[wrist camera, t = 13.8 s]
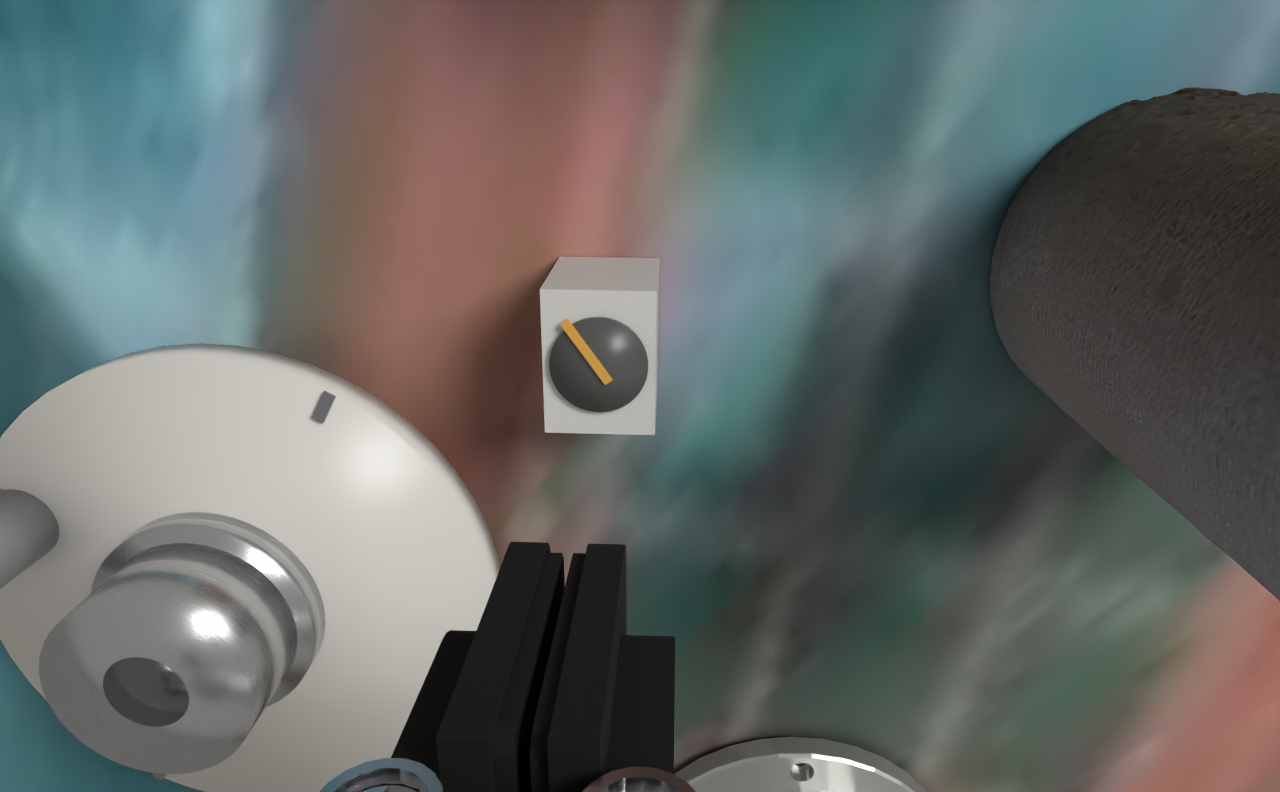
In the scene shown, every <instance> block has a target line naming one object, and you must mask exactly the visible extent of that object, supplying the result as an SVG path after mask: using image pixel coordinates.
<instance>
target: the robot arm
mask: <svg viewBox="0 0 1280 792" xmlns="http://www.w3.org/2000/svg"><path fill="white" fill-rule="evenodd" d="M674 678H675V637H668V636H633V635H626V546H625V545H618V544H588V546H587V551H586V554H581V553H574V554H573V556H572V560H571V564H570V569H569V573H568V577H567V581H566V586H565V584H564V559H563V554H562V553H550V546H549V543H536V542H510V544H509V546H508V549H507V552H506V554H505V557H504V559H503V562H502V565H501V567H500V570H499V573H498V575H497V578H496V581H495V583H494V586H493V588H492V591H491V594H490V596H489V599H488V602H487V604H486V607H485V610H484V612H483V615H482V617H481V620H480V623H479V625H478V628H477V631H460V630H450V631H448V632H446V634H445V636H444V637H443V639H442V641H441V644H440V646H439V648H438V651H437V653H436V655H435V658H434V660H433V662H432V664H431V667H430V669H429V671H428V674H427V676H426V678H425V680H424V683H423V685H422V687H421V690H420V692H419V694H418V697H417V699H416V701H415V703H414V706H413V708H412V710H411V713H410V715H409V717H408V720H407V722H406V724H405V726H404V729H403V731H402V733H401V736H400V738H399V740H398V742H397V745H396V747H395V749H394V752H393V754H392V756H391V758H383V759H378V760H373V761H368V762H364V763H362V764H360V765H357V766H355V767H352V768H350V769H348V770H345V771H344V772H342V773H341V774H340V775H338V776H337V777H335V778H334V779H332V780H331V781H329V782H328V783H327V784H326V785H325V786H324V787H323V788H322V789H321V790H320V792H927V791H926V790H925V789H924V788H923V787H922V786H921V785H920V784H919V783H918V782H917V781H916V780H915V779H914V778H913V777H912V776H911V775H910V774H908V773H907V772H906V771H904V770H903V769H901V768H899V767H898V766H896V765H895V764H893V763H892V762H890V761H888V760H887V759H885V758H884V757H881V756H879V755H876V754H874V753H871V752H869V751H866V750H864V749H862V748H859V747H857V746H853V745H849V744H844V743H840V742H836V741H831V740H827V739H818V738H804V737H781V738H768V739H758V740H754V741H749V742H745V743H741V744H736V745H732V746H728V747H726V748H723V749H721V750H718V751H716V752H713V753H711V754H708V755H706V756H703V757H701V758H699V759H697V760H696V761H694V762H692V763H691V764H689V765H688V766H686V767H684V768H683V769H681V770H679V771H678V772H676V773H675V774H673V771H674Z"/></svg>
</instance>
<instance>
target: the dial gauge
mask: <svg viewBox="0 0 1280 792" xmlns="http://www.w3.org/2000/svg"><path fill="white" fill-rule="evenodd" d="M659 272H660V258H609V257H559V259H558V260H557V262H556V264H555V265H554V267H553V268H552V270H551V272H550V273H549V275H548V277H547V278H546V280H545V281H544V283H543V285H542V286H541V288H540V310H541V338H542V366H543V394H544V421H545V433H586V434H629V435H655V422H656V404H657V386H658V332H659Z"/></svg>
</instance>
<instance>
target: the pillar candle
mask: <svg viewBox="0 0 1280 792" xmlns="http://www.w3.org/2000/svg"><path fill="white" fill-rule="evenodd" d="M990 301H991V308H992V313H993V317H994V321H995V326H996V329H997V332H998V334H999V337H1000V339H1001V342H1002V343H1003V345H1004V347H1005V349H1006V351H1007V353H1008V355H1009V356H1010V358H1011V359H1012V360H1013V362H1014V363H1015V364H1016V365H1017V367H1018V368H1019V369H1020V370H1021V371H1022V372H1023V373H1024V374H1025V375H1026V376H1027V378H1028V379H1029V380H1030V381H1031V382H1032V383H1033V384H1034V385H1036V386H1037V387H1038V388H1039V389H1040V390H1041V391H1042V392H1043V393H1044V394H1045V395H1046V396H1047V397H1048V398H1050V399H1051V400H1052V401H1053V402H1054V403H1055V404H1056V405H1057V406H1058V407H1059V408H1060V409H1062V410H1063V411H1064V412H1065V413H1066V414H1068V415H1069V416H1070V417H1071V418H1072V419H1073V420H1074V421H1076V422H1077V423H1078V424H1079V425H1080V426H1081V427H1082V428H1083V429H1085V430H1086V431H1087V432H1088V433H1089V434H1090V435H1091V436H1092V437H1093V438H1094V439H1096V440H1097V441H1098V442H1099V443H1100V444H1101V445H1102V446H1103V447H1104V448H1105V449H1106V450H1107V451H1108V452H1110V453H1111V454H1112V455H1113V456H1114V457H1116V458H1117V459H1118V460H1119V461H1120V462H1122V463H1123V464H1124V465H1125V466H1126V467H1127V468H1128V469H1129V470H1130V471H1132V472H1133V473H1134V474H1135V475H1136V476H1137V477H1138V478H1140V479H1141V480H1142V481H1143V482H1144V483H1145V484H1147V485H1148V486H1149V487H1150V488H1151V489H1152V490H1153V491H1154V492H1156V493H1157V494H1158V495H1159V496H1160V497H1161V498H1162V499H1164V500H1165V501H1166V502H1167V503H1169V504H1170V505H1171V506H1172V507H1173V508H1174V509H1176V510H1177V511H1178V512H1179V513H1180V514H1181V515H1183V516H1184V517H1185V518H1186V519H1187V520H1189V521H1190V522H1191V523H1192V524H1193V525H1194V526H1195V527H1196V528H1197V529H1198V530H1199V531H1200V532H1202V533H1203V534H1204V536H1206V537H1207V538H1208V539H1209V540H1210V541H1212V542H1213V543H1214V544H1215V545H1216V546H1218V547H1219V548H1220V549H1221V550H1222V551H1224V552H1225V553H1226V554H1227V555H1228V556H1230V557H1231V558H1232V559H1233V560H1234V561H1236V562H1237V563H1238V564H1239V565H1240V566H1241V567H1242V568H1243V569H1245V570H1246V571H1247V572H1248V573H1249V574H1250V575H1251V576H1252V577H1254V578H1255V579H1256V580H1257V581H1258V582H1259V583H1260V584H1261V585H1262V586H1264V587H1265V588H1266V589H1267V590H1268V591H1269V592H1271V593H1272V594H1273V595H1274V596H1275V597H1276V598H1277V599H1278V600H1279V601H1280V94H1275V93H1271V94H1268V93H1267V92H1264V93H1256V94H1250V95H1247V96H1244V95H1241V94H1239V93H1238V92H1236V91H1228V90H1221V89H1203V88H1197V87H1196V88H1185V89H1181V90H1179V91H1177V92H1175V93H1173V94H1170V95H1165V96H1159V97H1153V98H1152V99H1150V100H1145V101H1140V100H1132V101H1130V102H1126V103H1123V104H1121V105H1119V106H1117V107H1115V108H1114V109H1112V110H1110V111H1108V112H1106V113H1104V114H1102V115H1100V116H1098V117H1097V118H1095V119H1093V120H1092V121H1090V122H1088V123H1087V124H1085V125H1084V126H1082V127H1081V128H1079V129H1078V130H1077V131H1075V132H1074V133H1072V134H1071V135H1070V136H1069V137H1067V138H1066V139H1065V140H1064V141H1063V142H1061V143H1060V144H1059V145H1058V146H1057V147H1056V148H1055V149H1054V150H1053V151H1052V152H1050V153H1049V155H1048V156H1047V157H1046V158H1045V159H1044V160H1043V161H1042V162H1041V163H1040V164H1039V166H1038V168H1037V169H1035V170H1034V171H1033V173H1032V174H1031V175H1030V176H1029V177H1028V179H1027V180H1026V181H1025V183H1024V184H1023V186H1022V187H1021V189H1020V190H1019V192H1018V193H1017V195H1016V196H1015V198H1014V200H1013V202H1012V203H1011V204H1010V206H1009V208H1008V211H1007V214H1006V215H1005V219H1004V220H1003V222H1002V224H1001V226H1000V229H999V233H998V236H997V241H996V245H995V247H994V251H993V256H992V263H991V270H990Z"/></svg>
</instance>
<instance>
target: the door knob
mask: <svg viewBox="0 0 1280 792" xmlns="http://www.w3.org/2000/svg"><path fill="white" fill-rule="evenodd" d="M325 626H326V625H325V610H324V605H323V601H322V598H321V595H320V592H319V589H318V587H317V585H316V583H315V581H314V579H313V577H312V576H311V574H310V573H309V571H308V570H307V568H306V567H305V566H304V564H303V563H302V562H301V561H300V560H299V558H298V557H297V556H296V555H295V554H294V553H293V552H292V551H291V550H290V549H288V548H287V547H286V546H285V545H284V544H283V543H281V542H280V541H279V540H277V539H276V538H275V537H273V536H272V535H270V534H268V533H267V532H265V531H263V530H262V529H260V528H258V527H255V526H253V525H251V524H249V523H247V522H244V521H241V520H238V519H235V518H233V517H228V516H224V515H220V514H213V513H205V512H187V513H178V514H172V515H169V516H165V517H161V518H159V519H156V520H154V521H151V522H149V523H147V524H146V525H144V526H142V527H141V528H139V529H138V530H137V531H136V532H134V533H133V534H132V535H131V536H130V537H128V538H127V539H126V540H125V541H124V542H123V543H121V544H120V545H119V546H118V547H117V548H116V549H114V550H113V551H112V552H111V553H110V554H109V555H108V556H107V558H106V559H105V560H104V561H103V562H102V564H101V566H100V567H99V569H98V571H97V573H96V575H95V578H94V581H93V584H92V590H91V594H90V595H89V596H88V597H86V598H85V599H84V600H83V601H82V602H81V603H80V604H79V605H78V606H76V607H75V608H74V609H73V610H72V611H71V612H70V613H69V614H68V615H66V616H65V617H64V618H63V619H62V620H61V621H60V622H59V623H58V624H56V626H55V627H54V628H53V629H52V630H51V631H50V633H49V634H48V636H47V638H46V639H45V641H44V643H43V646H42V649H41V652H40V658H39V677H40V682H41V687H42V689H43V692H44V695H45V698H46V700H47V702H48V704H49V706H50V708H51V709H52V711H53V712H54V714H55V715H56V717H57V718H58V719H59V720H60V722H61V723H62V724H63V725H64V726H65V728H66V729H67V730H68V731H69V732H71V733H72V734H73V735H74V736H75V737H76V738H77V739H78V740H80V741H81V742H82V743H83V744H85V745H86V746H87V747H89V748H90V749H92V750H93V751H95V752H97V753H98V754H100V755H102V756H104V757H106V758H108V759H110V760H112V761H114V762H116V763H119V764H121V765H124V766H127V767H130V768H133V769H137V770H141V771H146V772H151V773H159V774H184V773H192V772H197V771H201V770H204V769H207V768H210V767H213V766H215V765H217V764H219V763H221V762H223V761H224V760H226V759H227V758H228V757H230V756H231V755H232V754H233V753H234V752H235V751H236V750H237V749H238V748H239V747H240V746H241V744H242V743H243V742H244V740H245V739H246V737H247V736H248V734H249V732H250V731H251V729H252V728H253V726H254V725H255V723H256V722H257V720H258V718H259V717H260V715H261V714H262V712H263V711H264V709H265V707H268V706H270V705H272V704H274V703H276V702H278V701H280V700H281V699H283V698H284V697H286V696H287V695H288V694H290V693H291V692H292V691H293V690H294V689H295V688H296V687H297V686H298V684H299V683H300V681H301V680H302V679H303V677H304V676H305V674H306V672H307V671H308V669H309V668H310V666H311V664H312V663H313V661H314V659H315V658H316V656H317V654H318V652H319V650H320V648H321V645H322V642H323V638H324V633H325Z"/></svg>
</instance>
